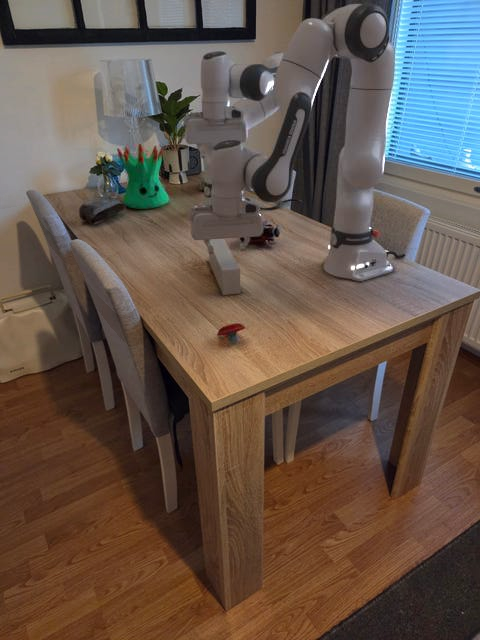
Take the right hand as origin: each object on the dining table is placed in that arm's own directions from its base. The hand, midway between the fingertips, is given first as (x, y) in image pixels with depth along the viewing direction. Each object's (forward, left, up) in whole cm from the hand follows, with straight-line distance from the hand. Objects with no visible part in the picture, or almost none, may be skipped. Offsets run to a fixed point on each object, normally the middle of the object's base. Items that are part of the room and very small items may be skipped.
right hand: (226, 251), depth 128 cm
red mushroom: (+8, +28, -12) cm, 31 cm away
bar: (-1, -8, -12) cm, 14 cm away
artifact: (-26, -105, -12) cm, 109 cm away
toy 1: (+10, -90, -12) cm, 92 cm away
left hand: (-8, -34, +19) cm, 40 cm away
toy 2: (-21, -29, -12) cm, 37 cm away
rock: (+30, -75, -12) cm, 82 cm away
